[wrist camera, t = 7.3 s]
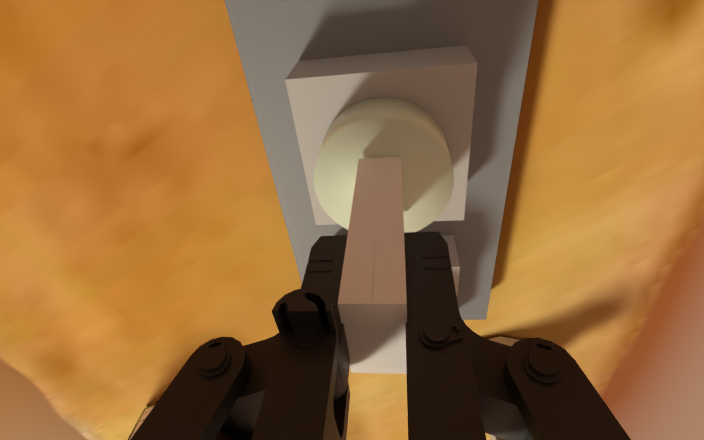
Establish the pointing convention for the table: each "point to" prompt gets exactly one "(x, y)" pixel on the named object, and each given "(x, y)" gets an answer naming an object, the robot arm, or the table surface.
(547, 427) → the robot arm
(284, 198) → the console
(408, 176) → the button sage
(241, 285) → the table surface
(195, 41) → the table surface
